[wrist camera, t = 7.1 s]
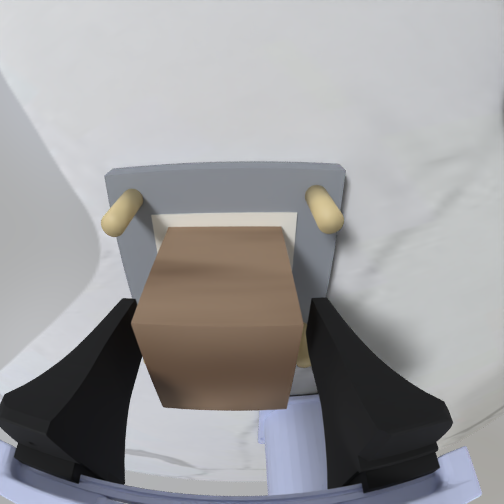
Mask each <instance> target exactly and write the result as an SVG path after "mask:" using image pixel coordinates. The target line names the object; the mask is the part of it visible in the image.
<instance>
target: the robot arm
mask: <svg viewBox="0 0 504 504" xmlns="http://www.w3.org/2000/svg"><path fill="white" fill-rule="evenodd" d="M136 308H137V301H136V299H128V298H123V299H122V300H121V301H120V302H119V303H118V304H117V305H116V306H115V307H114V308H113V309H112V310H111V311H110V313H109V314H108V315H107V316H106V317H105V318H104V319H103V320H102V321H101V322H100V323H99V325H98V326H97V327H96V328H95V329H94V330H93V331H92V332H91V333H90V334H89V335H88V336H87V337H86V338H85V339H84V340H83V341H82V342H81V343H80V344H79V345H78V346H77V347H76V348H75V349H74V350H73V351H71V352H70V353H69V354H68V355H67V356H66V357H64V358H63V359H62V360H61V361H60V362H58V363H57V364H55V365H54V366H53V367H51V368H50V369H49V370H47V371H46V372H44V373H43V374H41V375H40V376H38V377H37V378H35V379H33V380H32V381H30V382H28V383H27V384H25V385H23V386H21V387H19V388H17V389H15V390H13V391H11V392H9V393H6V394H5V395H4V397H3V399H2V401H1V404H0V427H1V428H2V429H3V430H4V431H5V432H6V433H7V434H8V435H9V436H11V437H12V438H13V439H14V440H15V441H17V442H18V445H17V448H15V447H14V446H12V445H10V444H8V443H6V442H4V441H2V440H0V495H1V496H3V497H5V498H7V499H9V500H10V501H12V502H14V503H16V504H124V503H128V504H467V503H468V502H470V501H472V500H474V499H476V498H478V497H480V496H481V495H482V492H481V488H480V485H479V482H478V479H477V476H476V473H475V469H474V467H473V463H472V461H471V458H470V455H469V452H468V449H467V447H466V446H463V447H461V448H458V449H456V450H453V451H451V452H448V453H446V454H444V455H442V456H440V457H438V458H437V456H436V453H435V452H436V451H438V446H437V443H436V442H437V441H438V440H439V439H440V438H441V437H442V436H443V435H444V434H445V433H446V432H447V431H448V430H449V429H450V428H451V426H452V424H453V421H452V418H451V416H450V413H449V410H448V408H447V406H446V404H445V402H444V401H442V400H440V399H438V398H436V397H434V396H432V395H430V394H428V393H426V392H425V391H423V390H421V389H420V388H418V387H416V386H415V385H413V384H411V383H410V382H409V381H407V380H406V379H404V378H403V377H401V376H400V375H399V374H397V373H396V372H395V371H393V370H392V369H391V368H390V367H388V366H387V365H386V364H385V363H384V362H383V361H381V360H380V359H379V358H378V357H377V356H376V355H375V354H374V353H373V352H372V351H371V350H370V349H369V348H368V347H367V346H366V345H365V344H364V343H363V342H362V341H361V340H360V339H359V337H358V336H357V335H356V334H355V333H354V332H353V330H352V329H351V328H350V327H349V326H348V325H347V323H346V322H345V321H344V320H343V318H342V317H341V316H340V314H339V313H338V312H337V311H336V309H335V308H334V307H333V305H332V304H331V303H330V301H329V300H328V299H327V298H326V297H321V298H311V305H310V311H309V316H308V322H307V328H306V339H307V347H308V354H309V358H310V362H311V366H312V370H313V374H314V378H315V382H316V386H317V390H318V395H306V396H293V397H289V400H288V405H287V409H279V410H260V411H259V429H258V443H260V444H265V452H266V469H267V485H268V495H267V496H208V495H193V494H182V493H172V492H164V491H156V490H149V489H143V488H137V487H132V486H127V485H124V484H125V467H124V458H125V437H126V426H127V417H128V409H129V403H130V398H131V394H132V391H133V387H134V383H135V380H136V376H137V373H138V369H139V366H140V362H141V359H142V354H141V351H140V348H139V345H138V342H137V340H136V337H135V334H134V331H133V328H132V325H131V322H132V319H133V316H134V313H135V311H136ZM113 500H114V501H113ZM117 501H118V502H117ZM120 502H123V503H120Z"/></svg>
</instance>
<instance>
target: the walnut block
mask: <svg viewBox="0 0 504 504" xmlns="http://www.w3.org/2000/svg"><path fill="white" fill-rule="evenodd" d="M131 325H132V328H133V331H134V334H135V337H136V340H137V342H138V345H139V348H140V351H141V354H142V356H143V359H144V362H145V364H146V367H147V369H148V372H149V375H150V377H151V380H152V382H153V384H154V387H155V389H156V392H157V394H158V396H159V399H160V401H161V403H162V406H163V407H166V408H179V409H196V410H231V411H243V410H279V409H287V405H288V400H289V396H290V391H291V387H292V382H293V377H294V372H295V367H296V362H297V357H298V352H299V347H300V342H301V337H302V331H303V326H304V324H303V320H302V315H301V310H300V306H299V301H298V297H297V292H296V288H295V283H294V279H293V274H292V270H291V266H290V261H289V257H288V253H287V248H286V244H285V240H284V236H283V232H282V228H281V226H210V227H168V230H167V232H166V234H165V237H164V239H163V241H162V244H161V246H160V249H159V251H158V253H157V256H156V258H155V261H154V263H153V266H152V268H151V271H150V273H149V276H148V279H147V281H146V284H145V286H144V289H143V292H142V294H141V297H140V300H139V302H138V305H137V308H136V311H135V313H134V316H133V319H132V322H131Z"/></svg>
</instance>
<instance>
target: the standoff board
mask: <svg viewBox="0 0 504 504" xmlns="http://www.w3.org/2000/svg"><path fill="white" fill-rule="evenodd" d="M345 172H346V170H345V169H344V168H343V167H342V166H341V165H340V164H330V163H307V162H206V163H183V164H165V165H151V166H138V167H127V168H116V169H112V170H111V171H109V172H108V173H107V174H106V175H105V182H106V188H107V194H108V199H109V204H110V209H109V210H108V212H107V213H106V214H105V215H104V216H103V218H102V220H101V226H102V229H103V231H104V232H105V233H106V234H107V235H109V236H112V237H117V242H118V246H119V250H120V254H121V258H122V262H123V266H124V270H125V274H126V278H127V281H128V285H129V288H130V292H131V295H132V299H136V301H137V305H138V302H139V300H140V297H141V294H142V292H143V289H144V286H145V284H146V281H147V279H148V276H149V273H150V271H151V268H152V266H153V263H154V261H155V258H156V256H157V253H158V251H159V249H160V246H161V244H162V241H163V239H164V237H165V234H166V232H167V230H168V227H210V226H281V228H282V232H283V236H284V240H285V244H286V248H287V253H288V257H289V261H290V266H291V270H292V274H293V279H294V283H295V288H296V292H297V297H298V301H299V306H300V310H301V315H302V320H303V324H304V326H303V331H302V337H301V342H300V347H299V352H298V357H297V362H296V364H297V366H298V367H301V368H307V367H310V366H311V362H310V358H309V354H308V347H307V339H306V328H307V322H308V316H309V311H310V305H311V298H321V297H326V294H327V289H328V284H329V279H330V273H331V267H332V262H333V256H334V250H335V244H336V238H337V231H339V230H340V229H341V227H342V226H343V223H344V217H343V215H342V213H341V212H340V211H341V204H342V196H343V188H344V180H345ZM144 363H145V362H144Z"/></svg>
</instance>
